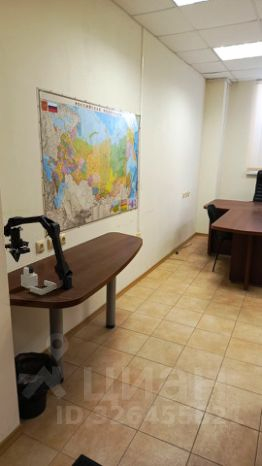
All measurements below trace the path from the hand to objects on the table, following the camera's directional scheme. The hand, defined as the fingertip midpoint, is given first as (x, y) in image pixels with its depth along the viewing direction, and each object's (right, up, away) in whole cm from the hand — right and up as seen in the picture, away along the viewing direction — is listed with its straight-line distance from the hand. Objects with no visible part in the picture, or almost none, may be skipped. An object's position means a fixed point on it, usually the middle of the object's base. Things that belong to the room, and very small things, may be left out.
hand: (17, 262), depth 193 cm
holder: (+19, -16, -8) cm, 26 cm away
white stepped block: (+9, -14, -3) cm, 17 cm away
